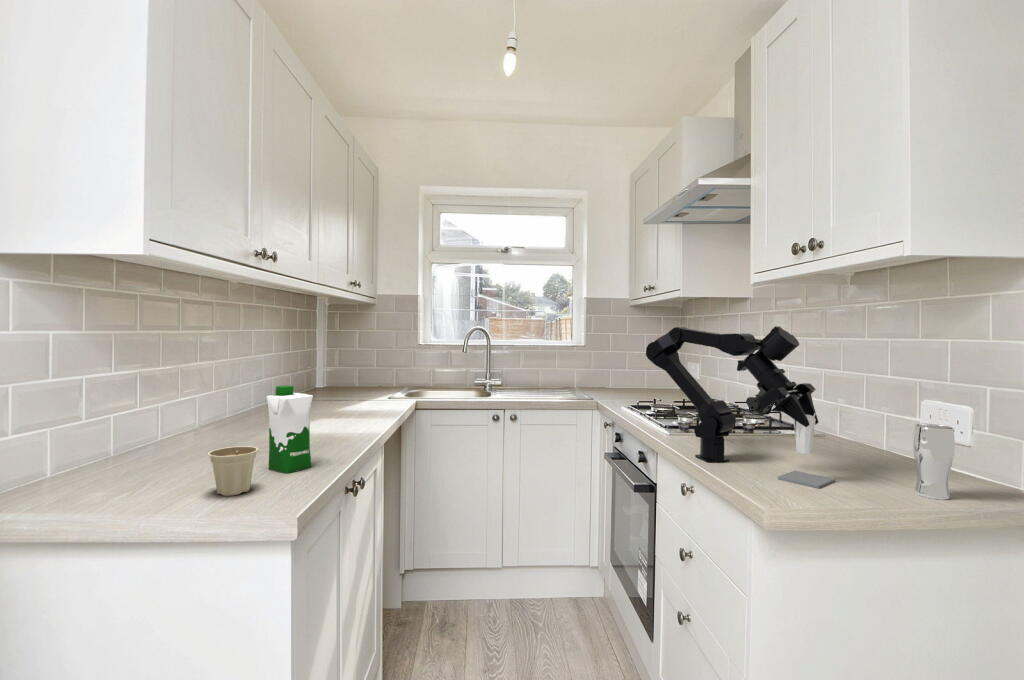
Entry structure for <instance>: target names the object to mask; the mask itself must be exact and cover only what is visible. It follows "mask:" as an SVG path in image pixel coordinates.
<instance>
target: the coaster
mask: <svg viewBox="0 0 1024 680" xmlns="http://www.w3.org/2000/svg"><path fill="white" fill-rule="evenodd" d="M835 479H836V478H832V477H827V476H823V475H819V474H814V473H808V472H804V471H799V470H796V469H795V470H792V471H789V472H786V473H785V474H781V475H778V476H777V480H779V481H785V482H788V483H793V484H797V485H802V486H806V487H810V488H815V489H820V488H823V487H825V486H827V485H830V484H832V483H835V482H836V481H835Z"/></svg>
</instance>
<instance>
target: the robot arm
mask: <svg viewBox="0 0 1024 680" xmlns="http://www.w3.org/2000/svg"><path fill="white" fill-rule="evenodd" d="M684 343H688V344H694V345H699V346H705V347H711V348H713V349H714V348H715V349H717V350H719V351H721V352H722V353H725V354H728V355H730V356H734V357H741V356H746V357H745V358H744V359H740V360H739V359H738V360H737V367H736V370H737V371H738V372H743V371H746V370H747V371H748V372H749V373H750V374H751V376H753V378H754V379H755V380H756V381H757V383H756V387H757V389H758V390H759V392H758V393H757V394H755V397H754V396H748V397H747V398H746V400H745V403H746V405H747V406H748V409H749V410H750V412H751V413H756V414H758V415H759V416H761V417H762V416H765V415H766V416H767V415H768V416H769V415H770V414H771V412H776V413H777V412H778V413H784V414H785V415H787V416H788V417H790V418H792V419H793V421H794V420H796V421H797V422H799V423H800V424H802V425H803V426H805V427H807V426H809V425H810V424H809V421H808V419H807V417H806V415H805V414H807V415H811V416H813V415H814V413H816V415H815V417H814V418H815V419H816V421H815V426H816V425H817V424H819V419H818V416H817V412H816V408H815V406H814V402H813V397H812V394H813V393H814V392H816V391H817V390H816V388H815V386H814V385H812V383H807V382H803V383H798V384H797V383H796V382H795V381H791V380H790V378H788V377H787V376H786V375H785V372H786V371H785V369H784V368H779V367H778V366H777V364H775V363H774V362H775V361H778V362H782V361H783V360H784V359H785V358H787V357H788V355H790V354H791V353H792V352H793V351H794V350H796V349H797V348H798V347H799V346H800V342H799V339H797V338H796V337H795V336H794V335H793V334H791V333H790V332H788V331H787V330H785V329H783V328H782V327H781V326H776V325H775V326H774V327H773V328H771V330H770V332H769V333H768V334H767V335H766V336H765V337H763V338H762V339H759V338H755V336H754V335H753V334H752V333H751V334H750V333H717V332H712V331H705V330H700V329H699V330H698V329H694V328H693V329H692V328H687V327H685V326H684V327H683V326H682V327H679V326H676V327H673V328H672V329H670V330H669V331H668V332H667V333H665V334H664V335H662V336H659V337H658V338H656V339H655V340H654V341H651V342H649V343H648V344H647V346H646V349H645V356H646V358H647V359H648V361H650V362H651V363H652V364H653V365H654V366H656V367H658V368H659V369H661V370H663V371H665V372H666V373H667V375H668V376H669V377H670V379H672V381H673V382H674V383H675V384H676V385H677V386H678V388H679V389H680V390H681V391H682V392H683V393H684V395H685V396H686V397H687V398H688V400H689V401H690V402H691V404H692V405H693V406H694V407H695V408H696V411H697V414H698V415H697V416H698V419H699V421H700V423H699V424H698V425H696V427H695V428H694V429H693V430H694V431H693V432H694V435H695V437H696V438H700V442H699V444H700V449H699V450H700V451H699V454H694V455H695V456H694V457H695V458H698V459H700V460H702V461H704V462H706V463H716V462H718V463H719V462H720V463H721V462H729V461H730V459H729V458H727V457H725V438H724V437H729V435H730V432H731V431H732V430H733V429H734V428H735V426H736V416H735V414H734V413H733V412H735V411H734V410H733V409H731V408H730V407H729V405H728V404H727V403H726V402H725V400H723V399H722V400H714V399H712V397H710V395H709V394H708V393H707V391H705V389H704V388H703V387H702V385H701V384H700V383H699V382H698V381H697V380H696V378H694V376H693V375H692V374H691V373H690V372H689V371H688V369H687V368H686V367H685V366H684V365H683V364H682V362H681V361H680V355H679V352H678V351H680V350H681V349H682V347H683V345H684Z"/></svg>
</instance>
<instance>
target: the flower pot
mask: <svg viewBox="0 0 1024 680" xmlns="http://www.w3.org/2000/svg"><path fill="white" fill-rule="evenodd" d="M258 451H259V448H258V447H257V446H256V447H255V446H249V445H244V446H243V445H242V446H241V445H238V446H229V447H221V448H216V449H213V450H210V451H208V453H207V456H208V457H209V458H210V462H211V464H212V468H213V474H214V481H215V487H216V493H217V494H218V495H221V496H225V497H226V496H237V495H240V494H241V493H247V492H249V491H250V490H251V485H252V484H251V483H252V477H253V471H254V470H253V469H254V462H255V458H256V456H257V452H258Z"/></svg>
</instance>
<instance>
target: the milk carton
mask: <svg viewBox="0 0 1024 680" xmlns="http://www.w3.org/2000/svg"><path fill="white" fill-rule="evenodd" d="M313 398H314V395H312V394H307V393H299V392H294V386H293V385H277V386H276V387H275V394H271V395H267V396H266V402H267V409H268V416H269V417H268V424H269V426H268V430H269V431H268V432H269V434H268V435H269V437H268V439H269V440H268V441H269V442H268V445H269V446H268V447H269V448H268V450H269V452H268V470H271V471H276V472H279V473H284V474H290V473H295V472H297V471H302V470H305V469H309V468H312V458H311V445H310V444H311V441H310V438H311V437H310V435H311V434H310V432H311V431H310V429H311V428H310V427H311V426H310V424H311V423H310V422H311V421H310V417H311V416H310V413H311V412H310V411H311V406H312V402H313Z"/></svg>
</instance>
